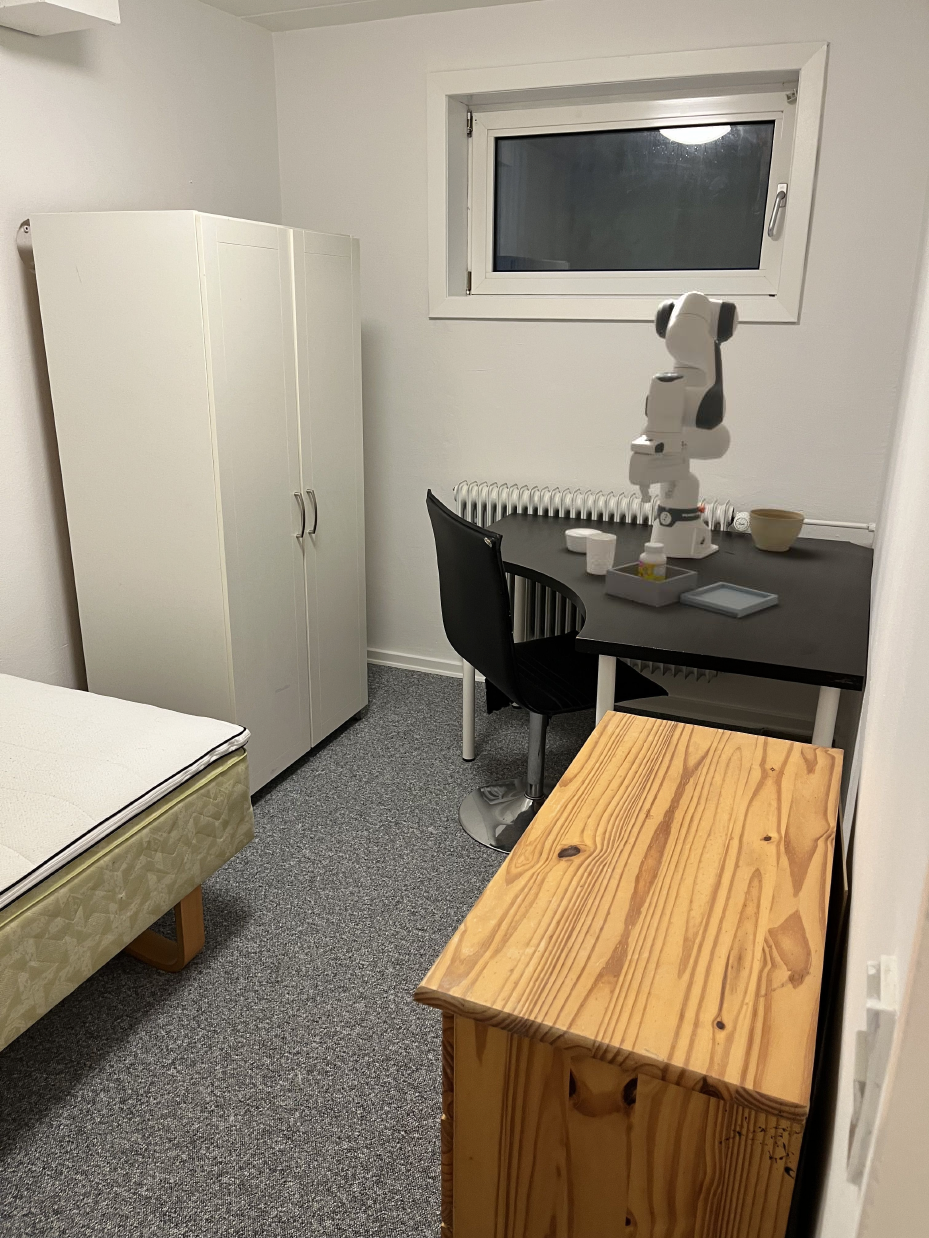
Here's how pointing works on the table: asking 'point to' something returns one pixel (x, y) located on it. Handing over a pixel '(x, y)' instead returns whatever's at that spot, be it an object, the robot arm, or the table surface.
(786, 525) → the planter bowl
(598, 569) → the white cup
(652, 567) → the supplement bottle
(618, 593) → the deep holder
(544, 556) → the table surface
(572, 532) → the ramekin
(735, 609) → the tray
